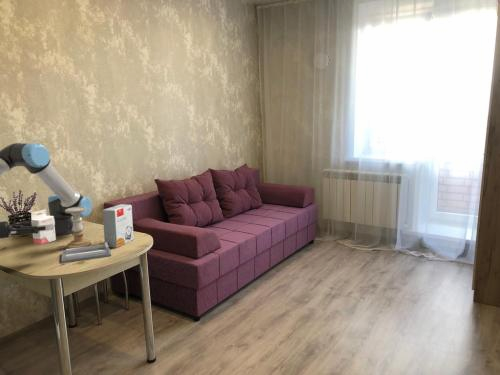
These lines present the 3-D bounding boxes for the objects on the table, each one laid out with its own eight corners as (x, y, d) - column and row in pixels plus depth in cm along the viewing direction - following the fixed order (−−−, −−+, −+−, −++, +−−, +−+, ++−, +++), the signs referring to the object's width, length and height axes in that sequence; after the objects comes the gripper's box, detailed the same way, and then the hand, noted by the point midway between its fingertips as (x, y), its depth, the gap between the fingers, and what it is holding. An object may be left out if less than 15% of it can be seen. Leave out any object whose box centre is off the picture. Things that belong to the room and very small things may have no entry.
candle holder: (85, 240, 220) (82, 205, 217) (96, 245, 212) (92, 208, 208) (62, 246, 212) (59, 209, 208) (72, 251, 203) (68, 212, 200)
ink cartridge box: (41, 245, 182) (37, 214, 180) (33, 244, 184) (29, 213, 181) (56, 239, 190) (53, 209, 187) (49, 238, 192) (45, 208, 189)
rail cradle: (62, 254, 200) (61, 245, 199) (108, 247, 208) (108, 239, 207) (61, 263, 187) (60, 254, 186) (111, 255, 196) (110, 247, 195)
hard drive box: (116, 248, 207) (113, 210, 203) (104, 247, 209) (101, 210, 206) (134, 239, 221) (131, 204, 218) (122, 238, 224) (119, 203, 220)
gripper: (3, 232, 189) (56, 225, 198) (-5, 245, 170) (54, 238, 178) (1, 216, 188) (54, 211, 197) (-8, 228, 168) (52, 221, 177)
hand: (54, 224), depth 187 cm, fingers closed on ink cartridge box, 9 cm apart
